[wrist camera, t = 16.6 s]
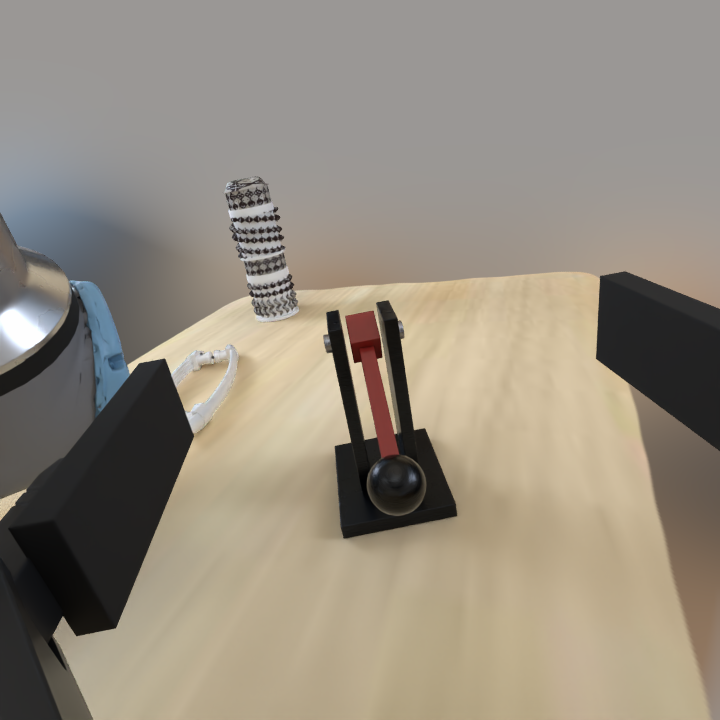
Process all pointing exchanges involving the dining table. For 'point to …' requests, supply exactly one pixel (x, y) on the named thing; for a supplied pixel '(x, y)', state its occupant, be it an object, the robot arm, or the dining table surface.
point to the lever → (384, 428)
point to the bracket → (363, 454)
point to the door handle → (206, 410)
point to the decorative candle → (261, 249)
